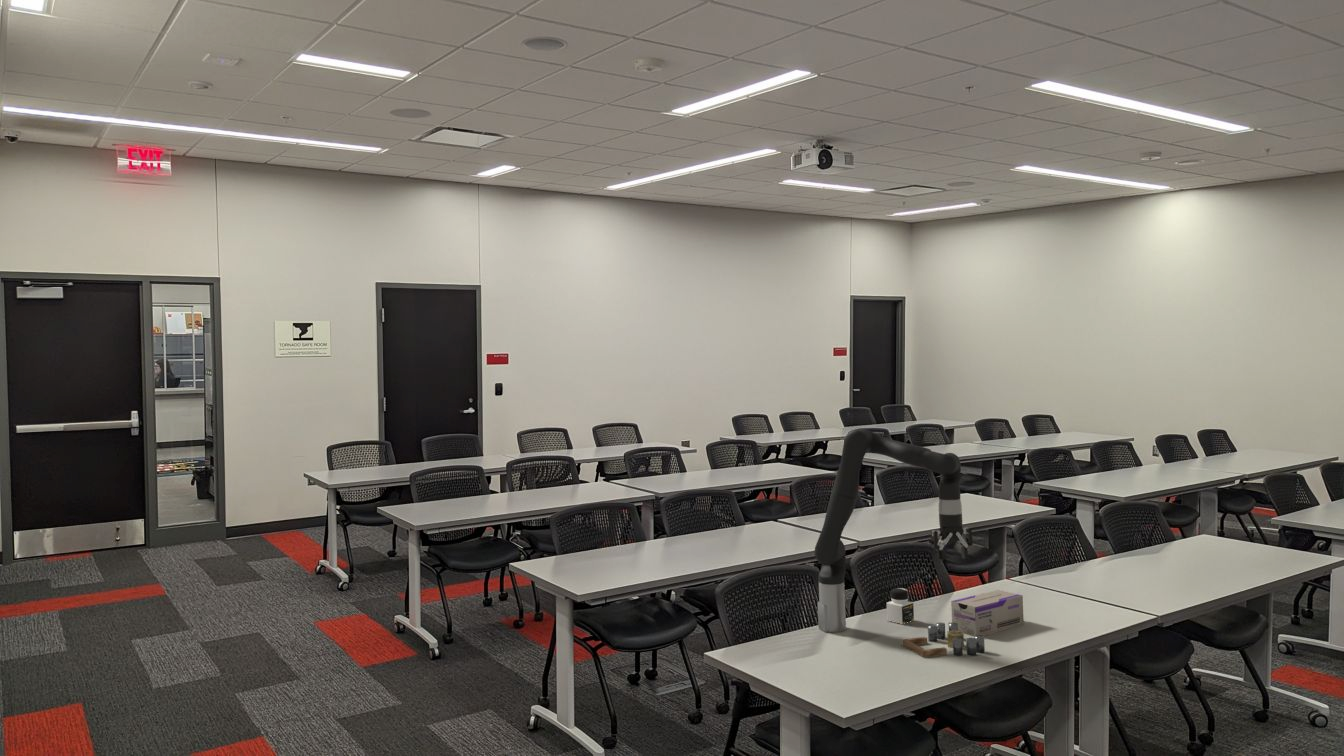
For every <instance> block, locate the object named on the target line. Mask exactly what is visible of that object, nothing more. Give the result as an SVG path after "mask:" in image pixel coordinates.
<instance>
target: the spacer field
mask: <svg viewBox="0 0 1344 756" xmlns="http://www.w3.org/2000/svg"><path fill="white" fill-rule="evenodd" d="M954 630H956V631H958V624H957V623H953V622H952V621H951V622H948V631H954ZM927 633H928V634H927V642H930V643H935V642H938V640H945V639H946V638H947V637H946V624H945V622H936V623H935V624H927ZM965 643H966V655H967V656H970V657H975V656H977V654H984V653H985V651H986V648H985V635H983V636H982V635H976V636H975V637H966V639H965ZM952 655H953V656H957V657H961V656H963V655H964V648H963V643H962V639H961V638H953V648H952Z"/></svg>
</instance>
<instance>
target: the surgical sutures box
mask: <svg viewBox="0 0 1344 756" xmlns="http://www.w3.org/2000/svg"><path fill="white" fill-rule="evenodd" d="M1023 599H1024V595H1022V594H1019V593H1014V592H1009V591H1004V590H1000V589H996V590H992V591H988V592H987V591H986V592H983V593H979V594H974V595H970V596H967V597H966V596H965V597H963V598H959V599H953V600H951V604H950V606H951V607H950V608H951V622H953V623H957V624H958V631H961V632H963V634H964V635H966V636H967V635H968V636H971V637H973V638H975V636H976V635H982V636H985V635H990V634H993V633H997V632H1001V631H1004V630H1009V629H1012V628H1015V627H1019V626H1023V625H1024V624H1025V623H1024V622H1025V621H1024V619H1025V618H1024V600H1023Z"/></svg>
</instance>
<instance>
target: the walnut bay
mask: <svg viewBox="0 0 1344 756" xmlns="http://www.w3.org/2000/svg"><path fill="white" fill-rule="evenodd" d="M901 641H902V646H903V647H905V648H907V649H908V650H910V651H911V652H913V653H914V654H917V655H918V656H920V657H921V658H923V659H924V658H930V657H939V656H940V657H941V656H946V655H948V654H947V653H948V651H947V649H948V648H946V647H934V648H927V649H925V648H923V647H921V646H920V645H927V644H928V637H926V636H920V637H919V636H918V637H912V638H911V637H910V638H903V639H902V640H901Z"/></svg>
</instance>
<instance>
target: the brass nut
mask: <svg viewBox="0 0 1344 756" xmlns="http://www.w3.org/2000/svg"><path fill="white" fill-rule="evenodd" d="M946 632H947V633H946V635H947V637H946V638H947V648H950V649H953V638H961V639H962V643H963V649H965V641H964V640H965V637H964V635H965V634H964V633H963V632H961V631H956V630H954V631H949V630H948V631H946Z"/></svg>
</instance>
